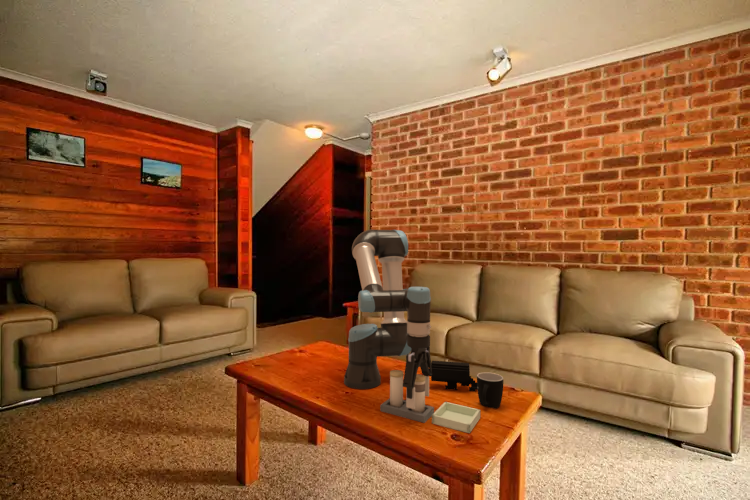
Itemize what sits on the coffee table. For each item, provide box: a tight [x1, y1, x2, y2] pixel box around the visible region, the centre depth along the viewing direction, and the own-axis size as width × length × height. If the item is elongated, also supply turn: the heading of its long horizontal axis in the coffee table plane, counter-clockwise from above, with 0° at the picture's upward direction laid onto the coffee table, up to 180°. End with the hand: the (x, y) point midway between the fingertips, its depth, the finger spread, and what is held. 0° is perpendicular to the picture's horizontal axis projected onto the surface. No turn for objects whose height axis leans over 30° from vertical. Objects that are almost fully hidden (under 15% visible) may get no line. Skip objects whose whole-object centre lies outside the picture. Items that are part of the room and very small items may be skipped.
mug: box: [476, 371, 504, 410], centre depth 127 cm, size 12×9×10 cm
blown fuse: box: [411, 373, 426, 414], centre depth 119 cm, size 5×5×13 cm
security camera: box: [430, 360, 478, 393], centre depth 143 cm, size 7×18×10 cm, turn 78°
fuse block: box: [379, 369, 435, 424], centre depth 121 cm, size 16×8×13 cm, turn 59°
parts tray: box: [431, 401, 481, 434], centre depth 116 cm, size 12×12×3 cm
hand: (418, 401), depth 119 cm, fingers open, 11 cm apart
